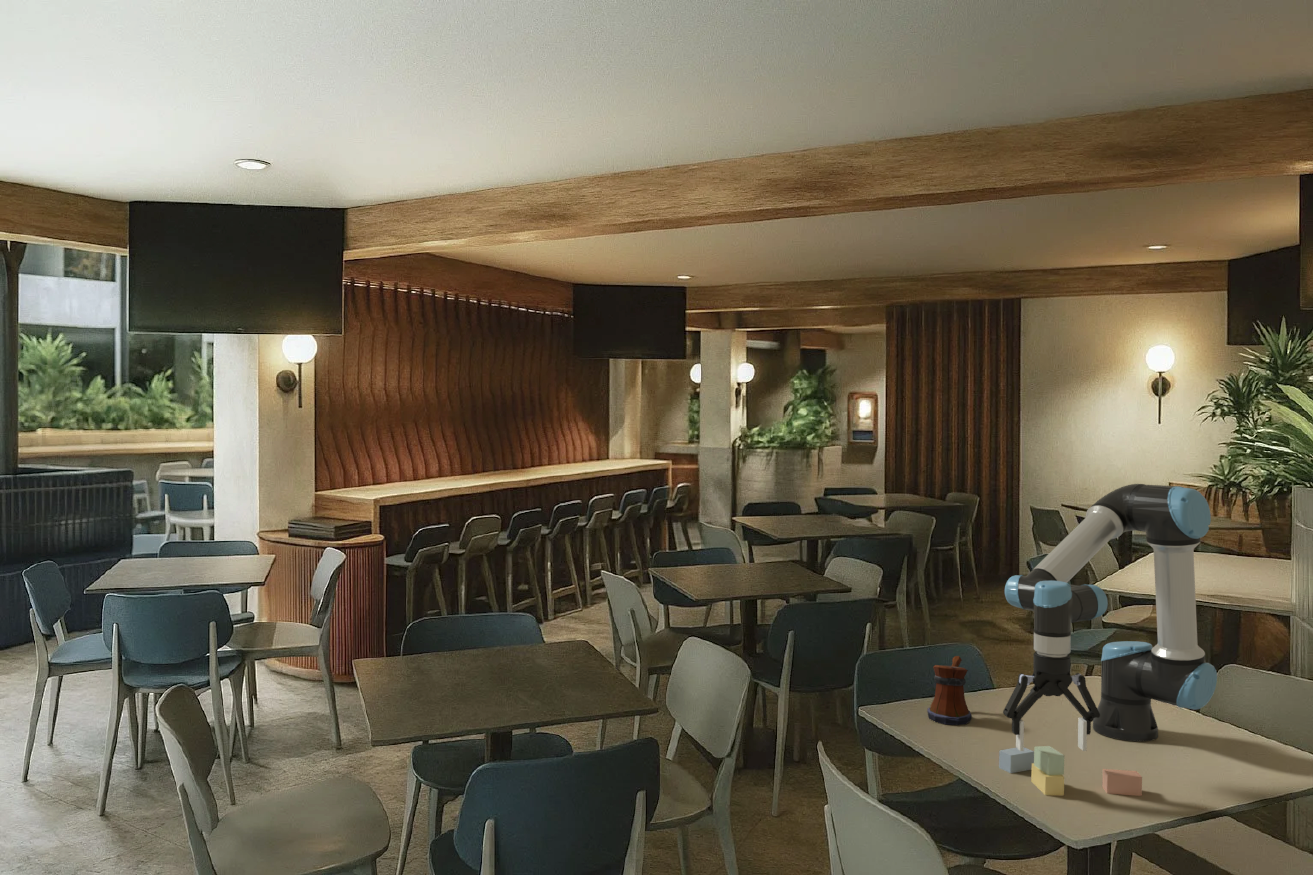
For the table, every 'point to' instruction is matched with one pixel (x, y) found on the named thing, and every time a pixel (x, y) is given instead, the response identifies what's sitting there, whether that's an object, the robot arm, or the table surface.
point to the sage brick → (1049, 760)
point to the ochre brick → (1047, 782)
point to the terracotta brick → (1122, 782)
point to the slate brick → (1016, 760)
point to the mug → (950, 695)
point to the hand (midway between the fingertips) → (1050, 748)
